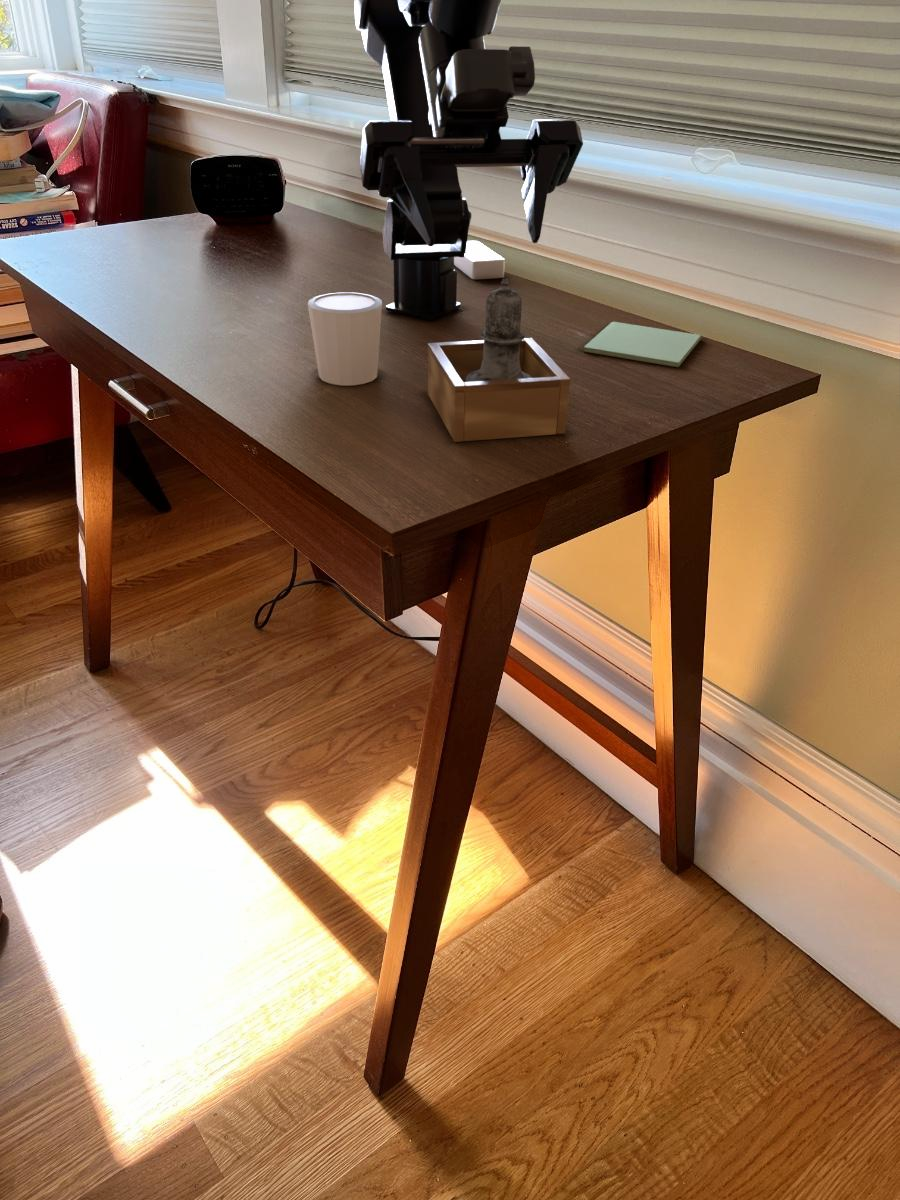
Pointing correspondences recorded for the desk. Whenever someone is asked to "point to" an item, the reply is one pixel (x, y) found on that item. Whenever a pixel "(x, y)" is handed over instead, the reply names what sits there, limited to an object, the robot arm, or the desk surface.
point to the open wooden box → (496, 393)
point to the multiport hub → (480, 262)
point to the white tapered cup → (346, 336)
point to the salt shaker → (501, 337)
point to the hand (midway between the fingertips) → (484, 241)
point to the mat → (643, 344)
